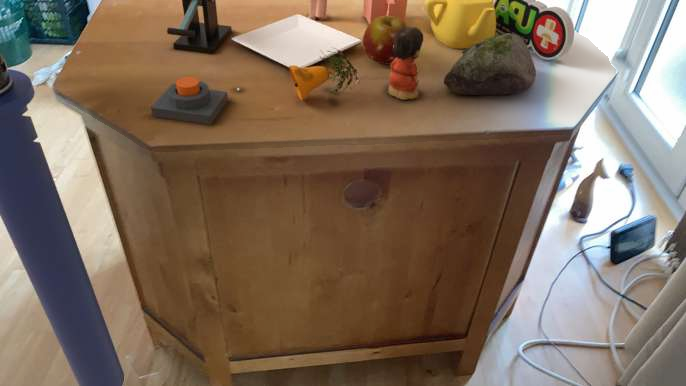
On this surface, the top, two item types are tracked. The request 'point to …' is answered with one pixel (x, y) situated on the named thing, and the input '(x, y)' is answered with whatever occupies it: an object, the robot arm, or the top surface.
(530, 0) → the sign
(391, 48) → the fruit
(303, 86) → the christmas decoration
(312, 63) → the plate
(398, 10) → the pink blocky piece
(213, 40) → the switch bracket
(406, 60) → the figurine
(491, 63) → the stone
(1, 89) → the robot arm
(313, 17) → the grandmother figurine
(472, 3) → the teapot
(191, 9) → the switch lever
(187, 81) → the button
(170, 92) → the control block
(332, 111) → the top surface
